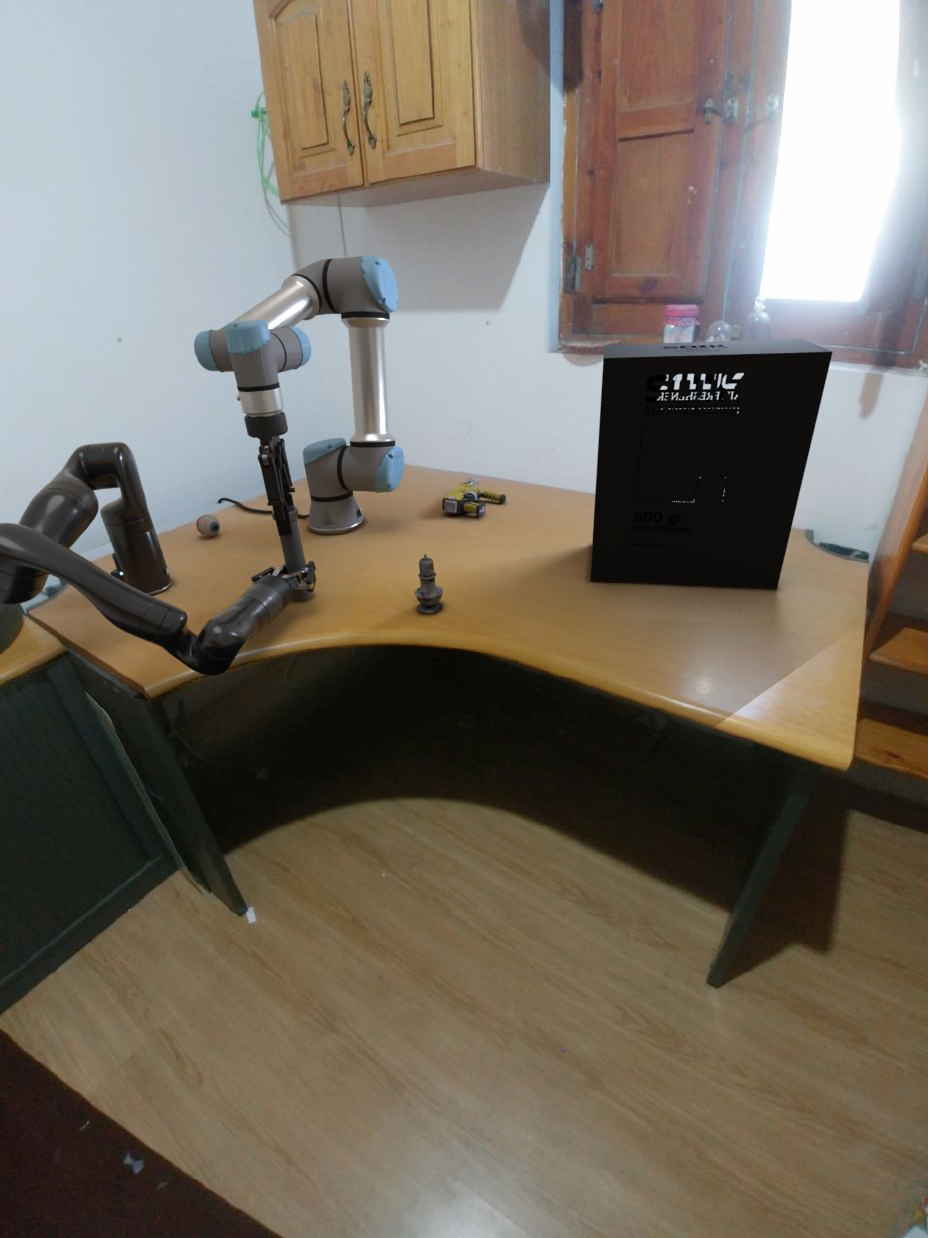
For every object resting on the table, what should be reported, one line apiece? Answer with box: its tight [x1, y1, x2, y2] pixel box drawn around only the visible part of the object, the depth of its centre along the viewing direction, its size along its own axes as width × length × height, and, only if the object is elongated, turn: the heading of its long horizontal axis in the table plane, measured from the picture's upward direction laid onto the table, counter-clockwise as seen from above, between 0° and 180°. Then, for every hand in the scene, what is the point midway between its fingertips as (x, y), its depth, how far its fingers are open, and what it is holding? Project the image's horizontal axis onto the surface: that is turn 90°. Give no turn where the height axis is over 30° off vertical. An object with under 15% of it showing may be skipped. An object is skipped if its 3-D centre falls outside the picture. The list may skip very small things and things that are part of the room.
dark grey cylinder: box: [279, 517, 313, 603], centre depth 127 cm, size 4×4×19 cm
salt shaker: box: [413, 553, 444, 614], centre depth 122 cm, size 6×6×12 cm
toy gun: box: [441, 477, 507, 518], centre depth 177 cm, size 5×24×15 cm
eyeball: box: [196, 514, 221, 538], centre depth 165 cm, size 6×6×6 cm
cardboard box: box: [589, 338, 834, 590], centre depth 125 cm, size 38×20×45 cm, turn 78°
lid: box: [271, 505, 300, 522], centre depth 122 cm, size 5×5×2 cm
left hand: (302, 564), depth 131 cm, fingers closed on dark grey cylinder, 4 cm apart
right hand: (288, 529), depth 124 cm, fingers closed on lid, 5 cm apart
